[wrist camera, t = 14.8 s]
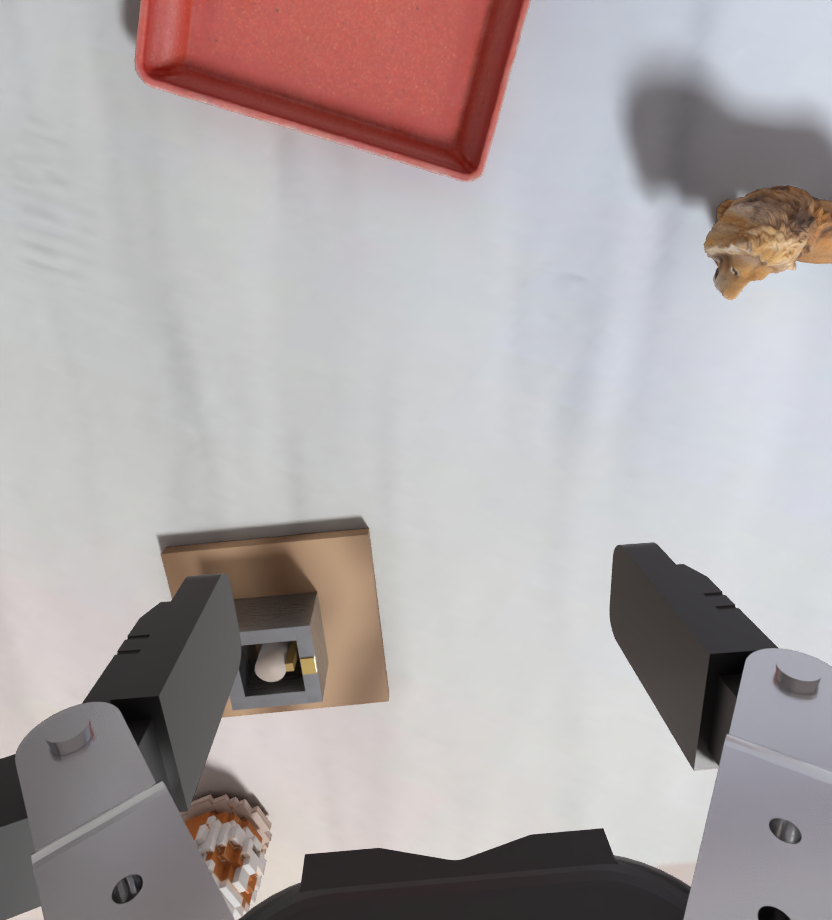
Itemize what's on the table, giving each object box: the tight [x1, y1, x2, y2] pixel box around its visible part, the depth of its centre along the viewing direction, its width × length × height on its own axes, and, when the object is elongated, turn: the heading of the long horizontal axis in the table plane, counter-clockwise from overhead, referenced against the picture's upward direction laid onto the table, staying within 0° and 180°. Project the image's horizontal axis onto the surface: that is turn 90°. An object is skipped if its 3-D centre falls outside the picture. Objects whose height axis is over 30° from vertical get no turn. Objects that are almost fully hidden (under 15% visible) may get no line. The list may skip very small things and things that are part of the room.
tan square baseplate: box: [161, 528, 389, 717], centre depth 40 cm, size 14×14×5 cm
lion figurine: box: [704, 186, 832, 300], centre depth 31 cm, size 15×5×9 cm, turn 93°
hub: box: [229, 591, 329, 710], centre depth 40 cm, size 6×6×4 cm
